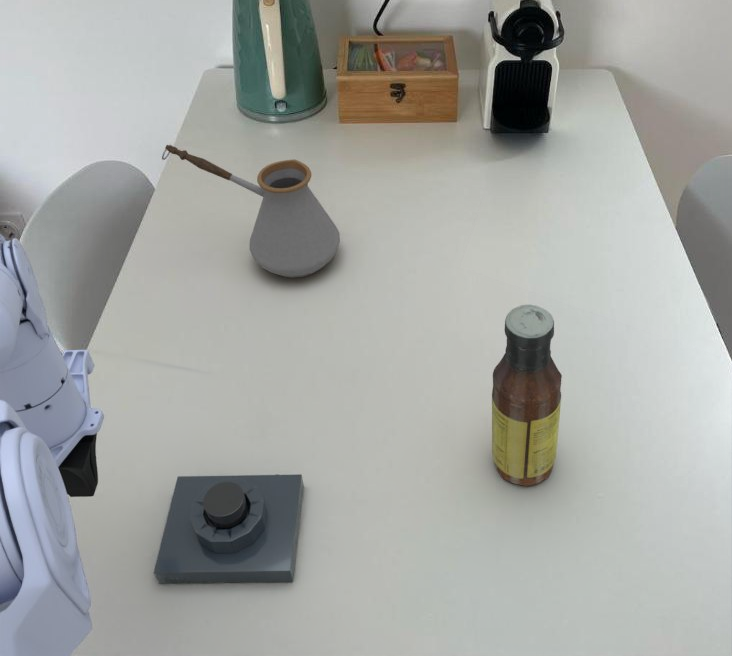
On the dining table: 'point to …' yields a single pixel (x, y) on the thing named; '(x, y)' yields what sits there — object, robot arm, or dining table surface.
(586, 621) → the dining table surface
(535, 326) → the sauce bottle
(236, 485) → the dark grey push button
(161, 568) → the grey button housing
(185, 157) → the coffee pot
